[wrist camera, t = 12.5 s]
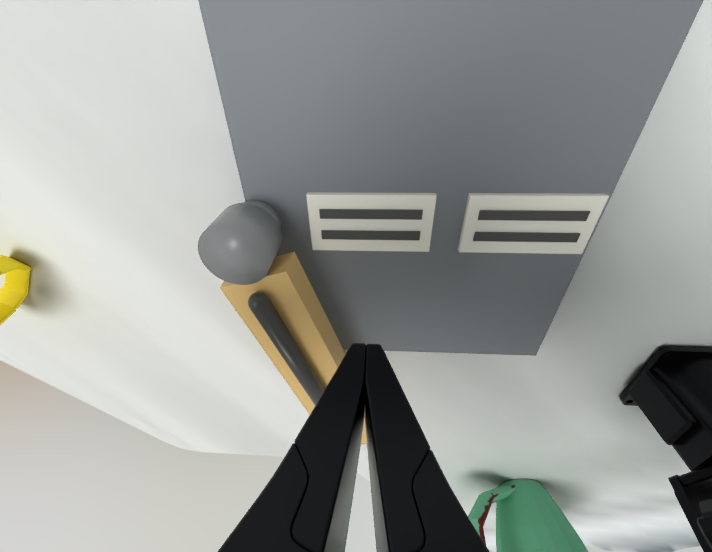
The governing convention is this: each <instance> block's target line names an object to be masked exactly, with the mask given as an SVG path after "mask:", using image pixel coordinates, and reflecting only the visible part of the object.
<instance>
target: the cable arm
mask: <svg viewBox="0 0 712 552" xmlns="http://www.w3.org/2000/svg"><path fill="white" fill-rule="evenodd" d="M281 244H282V232H281V228H280V226H279V224H278V222H277V221H276V220H275V218H274V217H273V216H272V215H271V214H270V213H269V212H267V211H266V210H264V209H263V208H261V207H259V206H256V205H253V204H248V203H238V204H234V205H231V206H229V207H228V208H226V209H225V210H224V211H223V212H222V213H221V214H220V215H219V216H218V217H217V218H216V220H215V221H214V222H213V223H212V224H211V225H210V226H209V227H208V228H207V229H206V230H205V231H204V232H203V233H202V235H201V236H200V238H199V241H198V252H199V255H200V258H201V260H202V262H203V263H204V265H205V266H206V267H207V269H208V270H209V271H210V272H212V273H213V274H214V275H215V276H217V277H218V278H220V279H222V280H224V282H223V284H222V285H221V287H220V289H221V290H222V291H223V293H224V294H225V296H226V297H227V298H228V300H229V301H230V303H231V304H232V305H233V307H234V308H235V310H236V311H237V313H238V314H239V315H240V317H241V318H242V320H243V321H244V322H245V324H246V325H247V327H248V328H249V330H250V331H251V332H252V334H253V335H254V337H255V338H256V339H257V341H258V342H259V344H260V345H261V347H262V348H263V349H264V351H265V352H266V354H267V355H268V356H269V358H270V359H271V361H272V362H273V363H274V365H275V366H276V368H277V369H278V371H279V372H280V373H281V375H282V376H283V378H284V379H285V380H286V382H287V383H288V385H289V386H290V388H291V389H292V390H293V392H294V393H295V395H296V396H297V397H298V399H299V400H300V402H301V403H302V404H303V406H304V407H305V409H306V410H307V412H308V413H309V414H311V412H312V410H313V409H314V407H315V405H316V404H317V402H318V400H319V399H320V397H321V395H322V394H323V392H324V390H325V388H326V387H327V385H328V383H329V382H330V380H331V378H332V377H333V375H334V373H335V371H336V370H337V368H338V366H339V365H340V363H341V361H342V360H343V358H344V356H345V355H346V354H345V352H344V350H343V348H342V346H341V344H340V342H339V340H338V338H337V336H336V334H335V332H334V330H333V328H332V326H331V324H330V322H329V320H328V318H327V316H326V314H325V312H324V310H323V308H322V306H321V304H320V302H319V300H318V298H317V296H316V294H315V292H314V290H313V288H312V286H311V284H310V282H309V280H308V278H307V276H306V274H305V272H304V270H303V268H302V266H301V264H300V262H299V260H298V258H297V256H296V254H295V252H291V253H287V254H283V255H279V256H276V255H277V253H278V251H279V249H280V247H281ZM361 444H367V437H366V426H365V416H364V425H363V432H362V439H361Z"/></svg>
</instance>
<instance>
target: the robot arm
mask: <svg viewBox="0 0 712 552" xmlns="http://www.w3.org/2000/svg"><path fill="white" fill-rule="evenodd" d="M620 400H621V402H622V403H623V404H624V405H634V406H639V407H640V409H641V410H642V411H643V413H644V414H645V416H646V417H647V418H648V420H649V421H650V422H651V424H652V425H653V426H654V428H655V429H656V431H657V432H658V433H659V435H660V436H661V437H662V439H663V440H664V441H665V442H666V443H667V444H668V445H672V446H673V447H674V449H675V450H676V451H677V453H678V454H679V455H680V457H681V458H682V459H683V461H684V462H685V463H686V465H687V466H688V467H689V469H690V470H691V471H692V472H689V473H686V474H683V475H681V476H678V475H675V476H672V477H669V478H668V479H669V481H670V483H671V485H672V487H673V489H674V491H675V492H674V493H675V495H676V497H677V499H678V501H679V503H680V505H681V507H682V509H683V511H684V513H685V515H686V517H687V519H688V521H689V523H690V525H691V527H692V529H693V531H694V533H695V535H696V537H697V539H698V541H699V543H700V545H701V547H702V549H703V551H704V552H712V348H706V347H674V346H666V347H662V348H660V349H658V350H657V351H656V353H655V354H654V355H653V356H652V358H651V359H650V360H649V361H648V363H647V364H646V365H645V366H644V368H643V369H642V370H641V371H640V373H639V374H638V375H637V376H636V378H635V379H634V380H633V381H632V383H631V384H630V385H629V386H628V388H627V389H626V390H625V391H624V393H623V394H622V395H621V396H620ZM364 416H365V426H366V437H367V448H368V459H369V471H370V482H371V493H372V504H373V515H374V526H375V537H376V549H377V552H489V550H488V549H487V547H486V545H485V544H484V542H483V540H482V539H481V537H480V536H479V534H478V532H477V531H476V529H475V528H474V526H473V524H472V523H471V521H470V519H469V518H468V516H467V515H466V513H465V511H464V510H463V508H462V506H461V505H460V503H459V501H458V499H457V498H456V496H455V494H454V493H453V491H452V489H451V487H450V486H449V484H448V482H447V480H446V478H445V476H444V474H443V472H442V470H441V468H440V466H439V464H438V462H437V460H436V458H435V456H434V454H433V452H432V450H430V446H429V444H428V442H427V440H426V438H425V435H424V433H423V431H422V429H421V427H420V425H419V423H418V421H417V419H416V417H415V415H414V413H413V411H412V408H411V406H410V404H409V402H408V400H407V398H406V396H405V394H404V392H403V390H402V388H401V386H400V384H399V381H398V379H397V377H396V375H395V373H394V371H393V369H392V367H391V365H390V363H389V361H388V359H387V357H386V354H385V352H384V350H383V348H382V346H381V345H380V344H372V343H369V344H367V345H366V344H365V343H353V344H352V345H351V346H350V348H349V349H348V351H347V353H346V355H345V356H344V358H343V360H342V361H341V363H340V365H339V366H338V368H337V370H336V371H335V373H334V375H333V377H332V378H331V380H330V382H329V383H328V385H327V387H326V388H325V390H324V392H323V394H322V395H321V397H320V399H319V400H318V402H317V404H316V405H315V407H314V409H313V410H312V412H311V414H310V416H309V417H308V419H307V421H306V422H305V424H304V426H303V427H302V429H301V431H300V433H299V434H298V436H297V438H296V439H295V443H293V444H292V446H291V448H290V449H289V451H288V453H287V454H286V456H285V458H284V459H283V461H282V462H281V464H280V466H279V467H278V469H277V470H276V472H275V474H274V475H273V477H272V478H271V480H270V481H269V482H268V484H267V485H266V487H265V488H264V490H263V491H262V492H261V494H260V496H259V497H258V498H257V499H256V501H255V502H254V503H253V505H252V506H251V508H250V509H249V510H248V512H247V513H246V514H245V516H244V517H243V518H242V520H241V521H240V522H239V524H238V525H237V527H236V528H235V529H234V531H233V532H232V533H231V534H230V536H229V537H228V538H227V540H226V541H225V543H224V544H223V545H222V547H221V548H220V549H219V551H218V552H345V545H346V539H347V532H348V526H349V519H350V512H351V506H352V499H353V492H354V486H355V479H356V472H357V466H358V459H359V452H360V446H361V439H362V432H363V425H364Z"/></svg>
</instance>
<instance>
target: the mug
mask: <svg viewBox="0 0 712 552" xmlns="http://www.w3.org/2000/svg"><path fill="white" fill-rule="evenodd" d="M494 502H497V508H496V547H497V552H588V550H587V549H586V547H585V545H584V544H583V542H582V541H581V539H580V537H579V536H578V534H577V533H576V531H575V530H574V528H573V527H572V525H571V524H570V523H569V521H568V520H567V518H566V517H565V515H564V514H563V512H562V511H561V509H560V508H559V507H558V505H557V504H556V503H555V501H554V500H553V499H552V498H551V496H550V495H549V494H548V492H547V491H546V490H545V488H544V487H543V486H542V485H541V483H539V482H537V481H534V480H530V479H516V480H510V481H507V482H504V483H503V484H501V485H500V486H499V487H498V488H495V489H492V490H489V491H486V492H483V493H482V494H480V495H479V496H478V498H477V500H476V502H475V504H474V506H473V508H472V510H471V512H470V514H469V516H468V518H469V519H470V521H471V523H472V524H473V526H474V528H475V529H476V531H477V532H478V534H479V536H480V537H481V539H482V540H483V542H484V544H485V545H486V542H485V536H484V530H483V525H484V523H485V520H486V517H487V515H488V512H489V509H490V507H491V504H492V503H494Z"/></svg>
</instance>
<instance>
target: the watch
mask: <svg viewBox="0 0 712 552" xmlns="http://www.w3.org/2000/svg"><path fill="white" fill-rule="evenodd" d="M30 270H32V268H31V267H30V266H28V265H26V264H24V263H21V262H19V261H17V260H15V259H13V258H10V257H7V256H3V255H0V275H1V274H4V273H5V284H4V286H3V287H2V288H1V290H0V325H1V324H2V323H3V322H4V321H5V320H6V319H7V318H8V317H10V316H11V315H12V314H13V313H14V312H15V311H16V308H18V307H19V306H20V305H21V303H22V302H23V300H24V299H25V298H26V296H27V295H28V289H29V278H30Z"/></svg>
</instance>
